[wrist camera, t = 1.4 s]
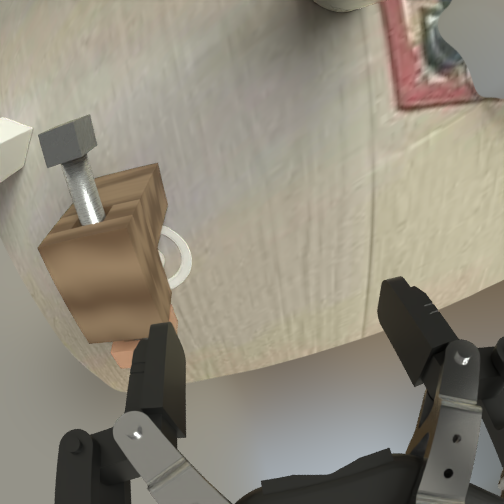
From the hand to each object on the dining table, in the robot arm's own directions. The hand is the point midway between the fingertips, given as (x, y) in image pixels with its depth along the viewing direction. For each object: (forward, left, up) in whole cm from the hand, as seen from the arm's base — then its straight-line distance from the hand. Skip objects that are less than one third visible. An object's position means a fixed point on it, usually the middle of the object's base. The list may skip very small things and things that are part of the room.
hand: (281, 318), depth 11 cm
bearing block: (+7, -14, -32) cm, 35 cm away
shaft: (+7, -14, -19) cm, 25 cm away
